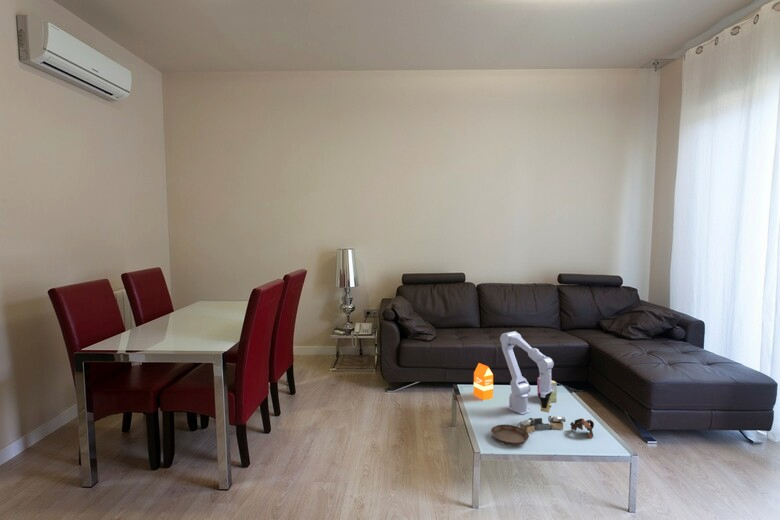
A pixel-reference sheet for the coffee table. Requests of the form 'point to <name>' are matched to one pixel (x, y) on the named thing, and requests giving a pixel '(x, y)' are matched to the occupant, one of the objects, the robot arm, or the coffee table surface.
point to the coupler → (547, 407)
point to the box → (553, 386)
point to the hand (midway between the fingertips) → (544, 406)
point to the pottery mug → (580, 423)
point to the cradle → (540, 424)
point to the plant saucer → (510, 435)
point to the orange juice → (483, 382)
